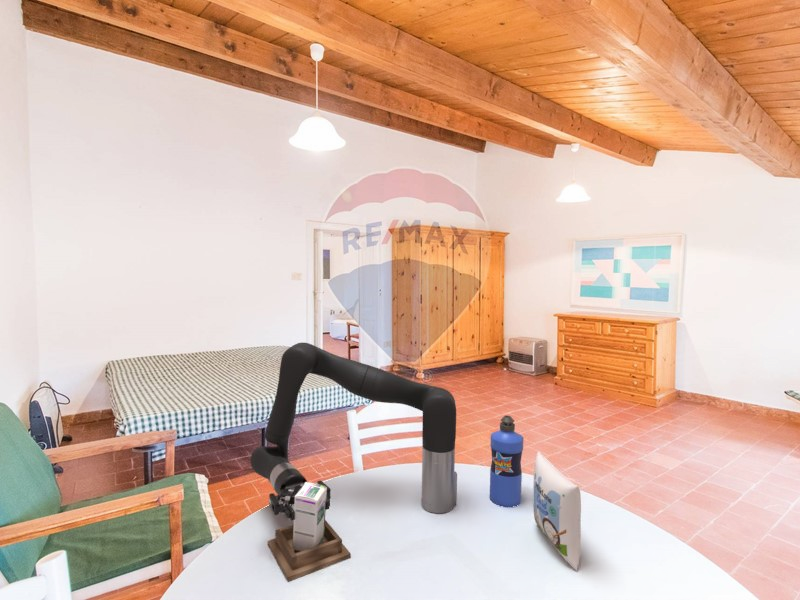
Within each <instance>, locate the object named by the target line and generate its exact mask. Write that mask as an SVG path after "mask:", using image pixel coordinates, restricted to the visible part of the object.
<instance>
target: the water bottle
mask: <svg viewBox="0 0 800 600" xmlns="http://www.w3.org/2000/svg"><path fill="white" fill-rule="evenodd" d="M514 422H515V420H514V418H512V416H510V415H504V416H503V417H502V418H501V419H500V423H499V429H500V430H495V431H493V432H491V434H490V450H491V463H490V464H491V465H490V469H489V471H490V472H489V473H490V474H489V500H490V501H492V502H491V503H493V504H494V505H496V506H498V505H499V506H498V507H501V506H503V507H502V508H508V507H511V508H514V507H513V506H516V507H518V506H520V505H521V503H522V481H523V480H522V479H523V476H522V475H523V472H522V471H523V470H522V465H521V464H522V463H521V462H522V455H523V450H524V437H523V436H522V434H519V433H517V432H515V427H516V425H515V423H514ZM520 502H521V503H520ZM519 504H520V505H519ZM517 505H518V506H517Z"/></svg>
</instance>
